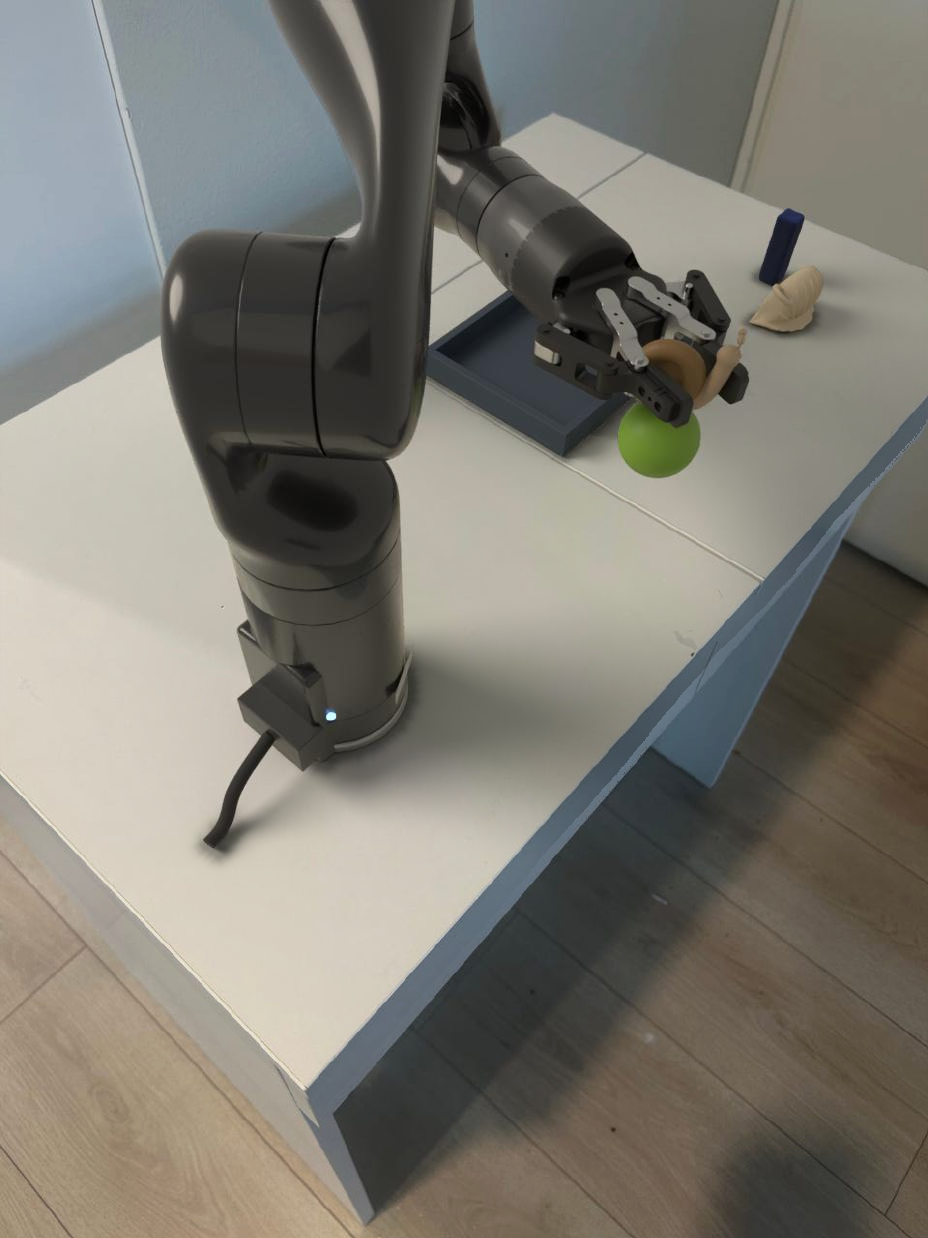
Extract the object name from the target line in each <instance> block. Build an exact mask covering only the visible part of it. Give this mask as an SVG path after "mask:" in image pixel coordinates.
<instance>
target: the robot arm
mask: <svg viewBox="0 0 928 1238" xmlns="http://www.w3.org/2000/svg"><path fill="white" fill-rule="evenodd" d="M267 3H268V6H269V9H270V11H271V13H272V16H273V18H274V21H275V23H276V26H277V27H278V30H279V32H280V33H281V36H282V37H283V39H284V42H285V43H286V45H287V47H288V49H289V51H290V53H291V55H292V56H293V58H294V60H295V62H296V63H297V65H298V67H299V69H300V71H301V73H302V74H303V76H304V77H305V79H306V81H307V83H308V85H309V86H310V88H311V90H312V91H313V93H314V95H315V97H316V98H317V100H318V102H319V104H320V105H321V107H322V109H323V111H324V112H325V114H326V116H327V119H328V120H329V122H330V124H331V126H332V128H333V131H334V133H335V136H336V138H337V141H338V142H339V145H340V148H341V150H342V152H343V154H344V157H345V159H346V162H347V164H348V167H349V170H350V172H351V175H352V178H353V180H354V183H355V187H356V190H357V193H358V197H359V202H360V206H361V218H360V224H359V227H358V231H357V232H356V234H355V235H353V236H351V237H341V236H340V237H336V236H325V235H324V236H323V235H312V234H298V233H285V232H271V231H261V230H250V229H249V230H247V229H237V228H236V229H233V228H207V229H202V230H199V231H196V232H193V233H192V234H190V235H189V236H188V237H186V238H185V239H184V240H182V241H181V242H180V243H179V245H178V246H177V247H176V249H175V251H174V252H173V254H172V256H171V257H170V260H169V262H168V265H167V267H166V270H165V272H164V273H165V274H164V277H163V283H162V287H161V293H160V299H159V335H160V336H159V337H160V348H161V356H162V362H163V367H164V371H165V376H166V381H167V385H168V391H169V394H170V398H171V402H172V404H173V408H174V410H175V413H176V417H177V420H178V422H179V426H180V429H181V432H182V434H183V437H184V440H185V442H186V445H187V449H188V451H189V454H190V456H191V459H192V461H193V464H194V467H195V469H196V472H197V475H198V478H199V481H200V483H201V486H202V490H203V492H204V494H205V499H206V501H207V504H208V507H209V510H210V513H211V516H212V519H213V522H214V524H215V526H216V528H217V530H218V531H219V533H220V535H222V537H223V538H224V539H225V540H226V542H227V545H228V549H229V554H230V557H231V561H232V564H233V565H232V566H233V569H234V572H235V576H236V580H237V584H238V587H239V591H240V595H241V598H242V603H243V607H244V610H245V614H246V617H247V619H245V620H244V621H243V622H242V623H240V624H239V625H238V626H237V627H236V635H237V638H238V641H239V645H240V649H241V652H242V656H243V660H244V663H245V667H246V670H247V674H248V677H249V680H250V684H251V686H250V687H248V689H246V690H245V691H244V692H243V693H242V694H240V695H239V696H238V697H237V698H236V701H237V705H238V707H239V711H240V714H241V717H242V719H243V722H244V723H245V724H247V726H249V727H250V728H251V729H252V730H253V731H254V732H256V733H257V734H258V735H259V736H260V737H259V738H258V739H257V741H256V742H255V744H254V746H253V747H252V748H251V749H250V751H249V753H248V754H247V755H246V757H245V758H244V759H243V761H242V763H241V764H240V765H239V767H238V769H237V770H236V772H235V774H234V775H233V777H232V779H231V781H230V782H229V785H228V787H227V789H226V791H225V794H224V797H223V801H222V805H221V809H220V813H219V817H218V819H217V821H216V823H215V824H214V826H213V828H212V829H211V830H210V831H209V832H208V833H207V834H206V835H205V836H204V837H203V839H202V841H203V843H205V844H206V846H209V847H210V848H212V849H216V847H217V846H218V845H219V844H220V843H221V842H222V841H223V840H224V839H225V837H226V836H227V834H228V832H229V831H230V829H231V827H232V825H233V823H234V819H235V816H236V811H237V807H238V803H239V800H240V797H241V796H242V793H243V791H244V789H245V787H246V785H247V784H248V781H249V780H250V779H251V776H252V775H253V773H254V772H255V770H256V769H257V767H258V766H259V765H260V763H261V762H262V760H263V759H264V758H265V756H266V755H267V753H268V752H269V750H270V749H271V747H273V748H274V749H275V750H277V752H279V753H280V754H281V755H282V756H283V757H285V758H286V759H287V760H288V761H290V762H291V763H292V764H293V765H294V766H295V767H297V769H299V771H301V772H305V771H306V770H307V769H308V768H309V767H311V765H313V763H314V762H315V761H319V762H325V761H327V760H328V759H329V758H330V757H331V756H332V755H333V754H335V753H338V752H339V753H341V752H349V751H353V750H357V749H361V748H363V747H366V746H368V745H370V744H373V743H374V742H376V741H378V740H380V739H381V738H382V737H384V736H385V735H386V734H387V733H388V732H390V730H392V728H394V726H395V725H396V724H397V723H398V721H399V719H400V718H401V717H402V714H403V712H404V710H405V708H406V705H407V701H408V695H409V677H408V671H409V668H410V665H411V662H412V659H413V657H414V644H412V646H411V648H410V651H409V654H408V656H407V658H406V639H405V609H404V584H403V583H404V581H403V559H402V558H403V556H402V555H403V553H402V552H403V551H402V525H401V522H402V521H401V497H400V491H399V485H398V482H397V479H396V475H395V473H394V472H393V470H392V467H391V466H390V464H389V463H388V461H390V460H394V459H395V458H397V457H399V456H400V455H401V454H402V453H403V452H405V450H406V449H407V447H408V446H409V445H410V443H411V441H412V440H413V437H414V436H415V432H416V430H417V426H418V423H419V419H420V417H421V412H422V409H423V408H422V406H423V402H424V396H425V391H426V383H427V365H428V349H429V345H430V330H431V314H432V291H433V290H432V288H433V287H432V286H433V268H434V267H433V262H434V240H435V239H434V238H435V228H436V229H438V230H441V231H443V232H445V233H447V234H450V235H453V236H456V237H458V238H460V240H461V241H463V242H464V243H465V244H466V245H467V246H468V247H469V248H470V249H471V251H473V252H474V254H475V255H477V256H478V258H480V259H481V260H482V261H483V262H484V263H485V264H486V265H487V267H488V268H489V270H490V271H491V272H492V274H493V275H494V277H495V278H496V279H497V281H498V282H499V283H500V284H501V285H502V286H503V287H504V289H506V291H507V290H508V291H509V292H510V293H511V294H512V295H513V296H514V297H515V298H516V299H517V300H518V301H519V302H520V303H521V304H522V305H524V306H525V307H526V308H527V309H528V310H529V311H530V312H531V313H532V314H533V315H534V316H535V317H536V318H537V319H538V320H539V321H540V322H541V323H542V324H541V325H539V326H538V327H537V329H536V337H535V345H534V354H533V363H534V364H535V365H536V366H538V367H540V368H542V369H544V370H546V371H547V372H549V373H551V374H553V375H555V376H557V377H559V378H560V379H562V380H564V381H566V382H568V383H570V384H572V385H573V386H575V387H577V388H579V389H581V390H583V391H585V392H586V393H588V394H590V395H592V396H594V397H596V398H598V399H600V400H609V399H611V398H612V396H613V393H621V392H624V393H625V394H626V395H627V396H630V397H632V398H636V397H637V398H638V399H639V400H640V401H641V402H642V403H643V404H644V405H645V406H646V407H647V408H648V409H649V410H650V411H651V412H652V413H654V415H655V416H656V417H657V418H658V419H659V420H661V421H663V422H665V423H670V424H671V425H672V426H673V427H674V428H679V427H681V426H683V425H686V424H687V423H688V422H689V419H690V415H691V412H692V411H693V410H692V409H693V405H694V402H693V399H692V397H691V395H690V394H689V393H688V392H686V391H685V390H684V389H683V388H682V387H681V386H680V385H679V384H678V383H677V382H676V381H675V380H673V379H672V378H671V377H670V376H669V375H668V374H667V373H666V372H665V371H664V370H663V369H662V368H660V367H659V366H658V365H657V364H654V365H652V366H648V365H649V358H648V357H647V355H646V354H645V353H644V352H643V351H642V347H644V346H645V345H646V344H648V343H650V342H652V341H655V340H659V339H675V340H679V341H682V342H684V340H683V336H684V335H685V336H687V337H689V338H691V339H692V344H691V347H693V348H694V349H695V350H696V351H697V352H698V353H699V354H700V356H701V357H702V359H703V361H704V364H705V367H706V378H707V377H708V375H709V374H710V372H711V371H712V369H713V368H714V366H715V364H716V362H717V352H718V351H719V349H720V348H721V347H723V346H724V342H725V339H726V336H727V333H728V330H729V329H730V326H731V322H732V319H731V317H730V315H729V314H728V312H727V310H726V309H725V306H724V305H723V303H722V301H721V300H720V298H719V296H718V295H717V293H716V291H715V290H714V288H713V286H712V284H711V283H710V281H709V279H708V277H707V276H706V274H705V273H704V272H703V271H702V270H699V269H690V270H688V271H687V273H686V276H685V280H682V281H673V282H666V281H665V280H664V279H663V278H662V277H660V276H658V275H657V274H653V273H651V272H648V271H647V270H645V269H644V268H642V267H641V266H640V263H639V261H638V259H637V257H636V254H635V252H634V250H633V248H632V246H631V245H630V243H629V242H628V241H627V240H626V239H625V238H624V237H623V236H621V235H620V234H618V232H616V231H615V230H614V229H613V228H612V227H611V226H609V225H608V224H607V223H606V222H605V221H603V219H601V218H600V217H599V216H597V215H596V214H595V212H593V211H591V210H590V209H589V208H588V207H587V206H585V205H584V204H583V203H582V202H581V201H580V200H578V199H577V198H576V197H575V196H574V195H572V194H571V193H569V192H568V191H567V190H566V189H564V188H562V187H561V186H558V185H557V184H555V183H553V182H551V181H550V180H549V179H548V178H546V177H545V176H544V175H543V174H542V173H540V172H539V170H537V169H536V168H535V167H533V166H532V165H531V164H530V163H529V162H528V161H526V160H525V159H524V158H523V157H521V155H519V154H518V153H516V152H514V151H513V150H511V149H509V148H507V147H504V146H503V145H502V144H503V133H502V128H501V122H500V119H499V116H498V113H497V110H496V107H495V104H494V101H493V98H492V95H491V92H490V89H489V85H488V82H487V78H486V75H485V71H484V68H483V63H482V59H481V55H480V51H479V47H478V42H477V38H476V32H475V17H474V16H475V12H474V11H475V10H474V9H475V8H474V0H267ZM666 324H667V327H666ZM665 328H666V331H665ZM664 332H665V335H664V337H663V334H664ZM684 343H685V342H684ZM586 365H587V366H589V367H591V368H593V369H595V370H597V371H598V373H597V376H595V375H593V374H591V373H589V372H588V371H587V370H586V368H585V366H586ZM749 374H750V373H749V371H748V369H747V367H746V366H745V365H744V364H742V363H741V362H739V363H738V364H737V365H736V366H735V367H734V368H733V370H732V372H731V374H730V376H729V378H728V379H727V381H726V383H725V384H724V386H723V387H722V389H721V390H720V392H719V393H718V394H717V396H718V397H720V398H721V399H722V400H724V401H725V402H726V403H727V404H728V405H735V404H736V403H739V402H742V401H743V400H744V397H745V394H746V393H747V389H748V386H749V383H750V377H749V376H750V375H749Z"/></svg>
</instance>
